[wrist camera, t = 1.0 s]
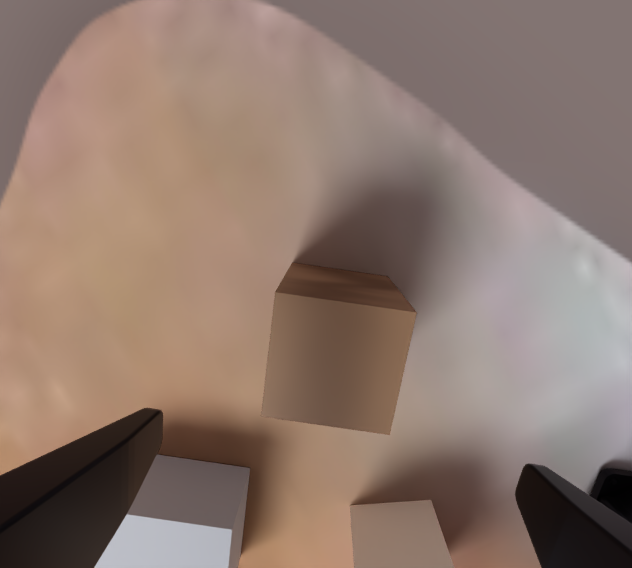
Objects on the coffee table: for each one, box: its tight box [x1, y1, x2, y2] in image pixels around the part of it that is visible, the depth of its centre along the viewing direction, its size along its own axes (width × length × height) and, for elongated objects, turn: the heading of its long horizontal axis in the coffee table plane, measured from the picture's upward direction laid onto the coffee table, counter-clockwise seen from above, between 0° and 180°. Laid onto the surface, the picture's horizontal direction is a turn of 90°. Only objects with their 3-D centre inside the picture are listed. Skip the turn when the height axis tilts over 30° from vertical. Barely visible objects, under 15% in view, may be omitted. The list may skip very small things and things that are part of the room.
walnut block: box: [261, 263, 417, 435], centre depth 15 cm, size 5×5×6 cm
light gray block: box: [94, 455, 250, 568], centre depth 20 cm, size 7×7×4 cm
